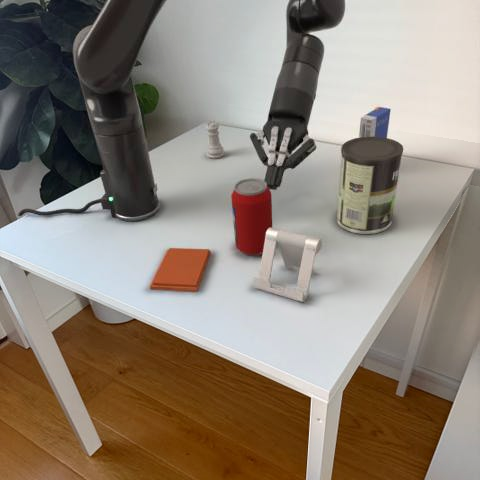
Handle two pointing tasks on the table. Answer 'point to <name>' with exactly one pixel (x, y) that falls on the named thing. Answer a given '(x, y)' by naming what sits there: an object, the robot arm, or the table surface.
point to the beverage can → (251, 215)
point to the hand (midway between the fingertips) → (271, 188)
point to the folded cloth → (181, 269)
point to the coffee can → (368, 184)
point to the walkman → (375, 123)
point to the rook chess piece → (214, 141)
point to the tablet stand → (288, 261)
